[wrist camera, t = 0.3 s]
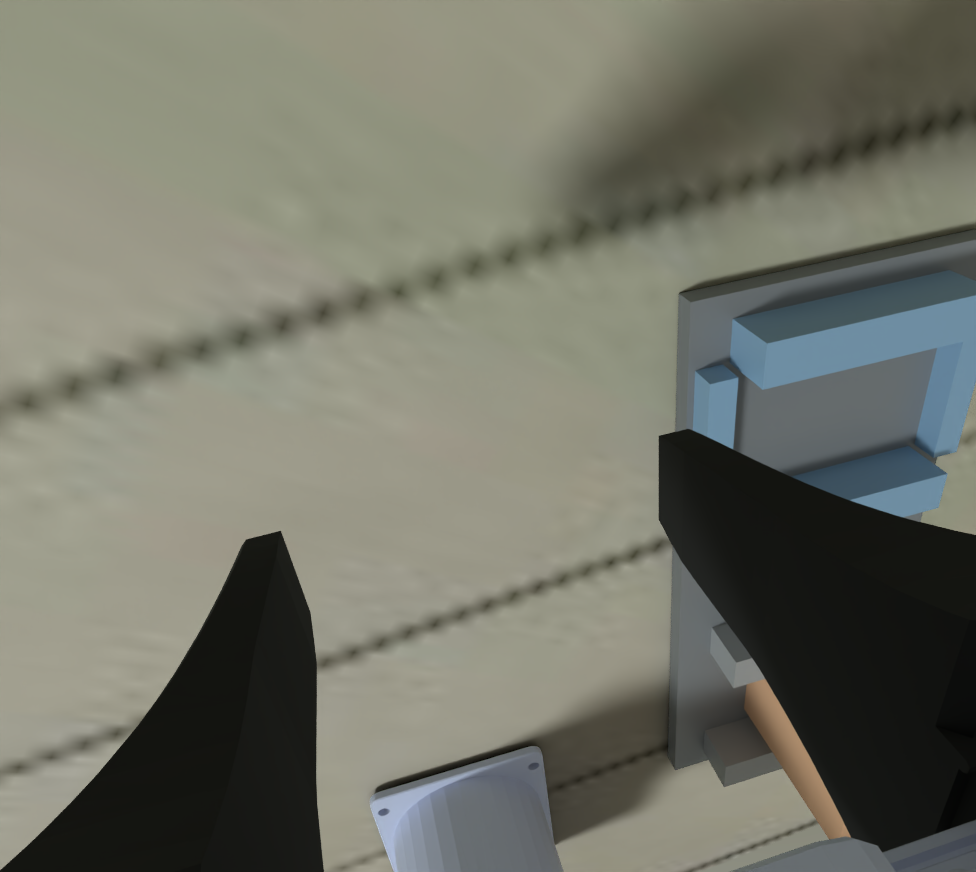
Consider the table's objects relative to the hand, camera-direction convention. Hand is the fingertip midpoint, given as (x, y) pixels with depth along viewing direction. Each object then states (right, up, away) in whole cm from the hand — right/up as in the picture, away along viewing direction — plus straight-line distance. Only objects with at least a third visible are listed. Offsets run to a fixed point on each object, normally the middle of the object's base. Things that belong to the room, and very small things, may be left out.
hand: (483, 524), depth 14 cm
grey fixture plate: (+13, -3, +17) cm, 22 cm away
